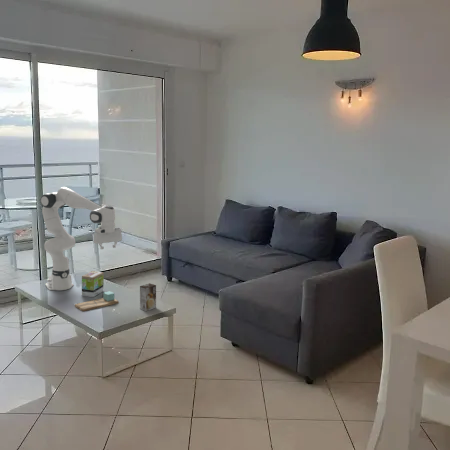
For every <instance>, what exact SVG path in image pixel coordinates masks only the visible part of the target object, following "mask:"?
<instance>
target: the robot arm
mask: <svg viewBox="0 0 450 450" xmlns="http://www.w3.org/2000/svg"><path fill="white" fill-rule="evenodd" d="M39 201H40V204H41V206H42V209H41V211H42V213H41V214H42V218H43V220H44V223H45V224H44V225H45V227H46V230H47V232H48V233H50V234H51V235H53V237H52V238H50V239H47V240H46V241H45V242H44V246H43V247H44V250H45V251H46V253H48V254H49V255H50V257H51V260H52V269H51V274H50V276H49V277H48V279H47V280H46V281H47V282H46V283H45V287H46V288H47V289H48V291H66V290H69V289H71V288H72V287H73V286H74V283H73V281H72V274H70V272H71V271H70V267H69V266H70V265H69V264H70V263H69V262H70V261H69V258H68V257H67V256H66V255H65V253H64V252H65V251H68V250H71V249H72V248H74V247H75V246H76V239H75V237H74V236H73V235H72V234H70V233H68V231H67V230H66V229H65V227H64V226H63V225H64V224H63V222H62V219H61V217H60V214H59V209H62V208H64V207H65V206H68V207H69V208H72V209H77V210H78V209H84V210H85V209H86V210H90V213H89V219H90V221H91V223H92V224H101V226H99V227H97V228H95V229H94V232H95V233H94V235H93V242H94V244H97V245H98V246H99V247H100V250H104V246H103V244H107V243H113V244H112V248H113V249H115V248H116V246H117V244H118V242H120V241H121V242H122V239H123V235H122V228H120V227H116V226H115V225H116V224H115V219H116V214H115V208H114V206H111V205H103V206H102V205H100V204H98V203H96V202H95V201H93V200H91V199H89V198H87V197H84V196H82V195H81V194H80V193H78V192H76V191H75V190H73V189H71V188H68V187H66V186H62V187H60V188H59V189H58V190H57V191H53V192H47V193H44V194H42V195H41V196H40V200H39Z"/></svg>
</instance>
